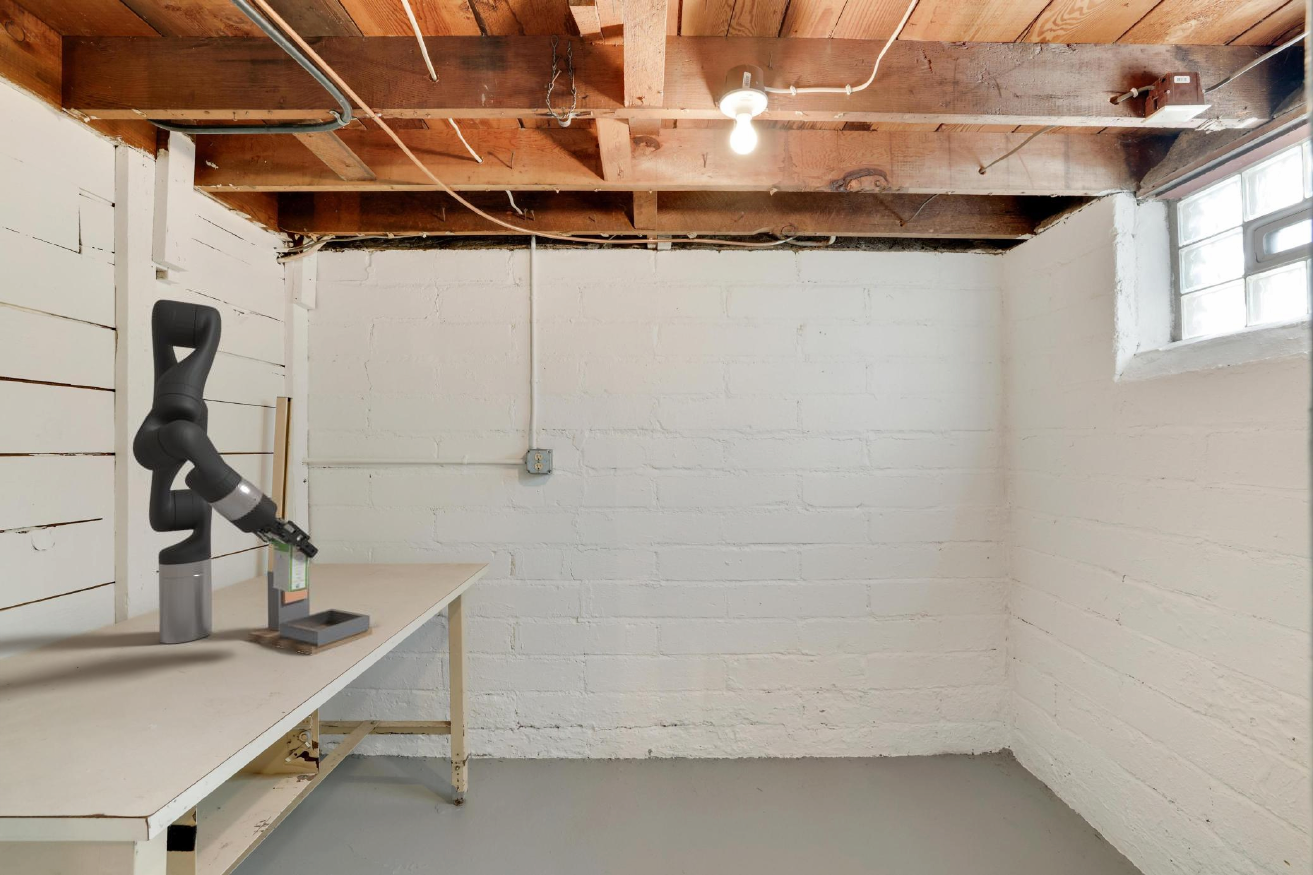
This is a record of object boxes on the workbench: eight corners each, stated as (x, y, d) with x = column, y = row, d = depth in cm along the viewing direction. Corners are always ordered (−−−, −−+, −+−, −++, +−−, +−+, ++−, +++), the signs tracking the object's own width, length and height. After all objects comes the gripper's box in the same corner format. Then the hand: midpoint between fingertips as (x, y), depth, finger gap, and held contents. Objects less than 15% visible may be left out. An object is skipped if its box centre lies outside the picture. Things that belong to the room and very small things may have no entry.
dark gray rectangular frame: (263, 633, 128) (262, 620, 128) (316, 618, 139) (315, 605, 139) (318, 646, 119) (317, 631, 119) (369, 628, 130) (369, 615, 130)
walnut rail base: (249, 639, 129) (249, 632, 129) (310, 621, 141) (310, 615, 141) (311, 655, 119) (311, 647, 119) (372, 633, 131) (372, 627, 131)
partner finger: (268, 628, 131) (267, 571, 131) (299, 619, 138) (298, 564, 138) (281, 631, 129) (280, 573, 129) (311, 622, 135) (311, 566, 135)
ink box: (309, 589, 121) (309, 524, 121) (288, 593, 118) (288, 527, 118) (293, 584, 125) (292, 522, 125) (272, 588, 122) (272, 524, 121)
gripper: (278, 490, 112) (336, 541, 122) (237, 487, 119) (295, 535, 129) (249, 522, 107) (311, 571, 118) (208, 517, 114) (270, 564, 124)
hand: (303, 552), depth 123 cm, fingers closed on ink box, 7 cm apart
